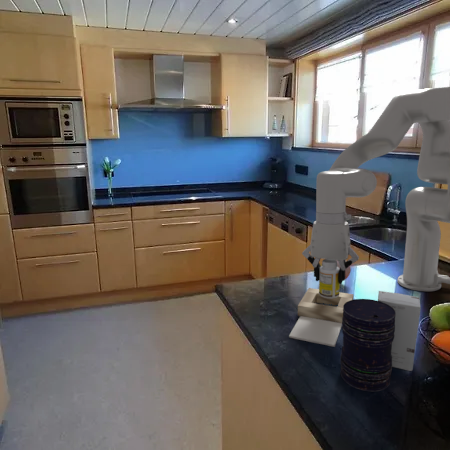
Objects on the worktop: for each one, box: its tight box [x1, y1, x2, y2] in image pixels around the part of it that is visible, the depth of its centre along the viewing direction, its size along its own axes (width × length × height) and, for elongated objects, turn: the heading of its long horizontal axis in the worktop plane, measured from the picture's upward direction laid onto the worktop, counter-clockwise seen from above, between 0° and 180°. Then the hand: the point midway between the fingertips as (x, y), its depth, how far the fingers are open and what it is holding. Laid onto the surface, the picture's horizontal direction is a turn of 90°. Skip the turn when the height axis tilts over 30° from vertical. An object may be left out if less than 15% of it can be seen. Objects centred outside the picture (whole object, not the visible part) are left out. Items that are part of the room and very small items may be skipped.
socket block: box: [297, 287, 355, 323], centre depth 105 cm, size 13×13×3 cm
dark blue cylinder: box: [340, 298, 396, 392], centre depth 75 cm, size 10×10×15 cm
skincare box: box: [377, 290, 421, 372], centre depth 80 cm, size 8×6×15 cm
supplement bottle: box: [318, 259, 341, 299], centre depth 103 cm, size 6×6×10 cm
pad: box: [288, 316, 343, 348], centre depth 94 cm, size 11×11×1 cm
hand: (329, 280), depth 104 cm, fingers closed on supplement bottle, 5 cm apart
